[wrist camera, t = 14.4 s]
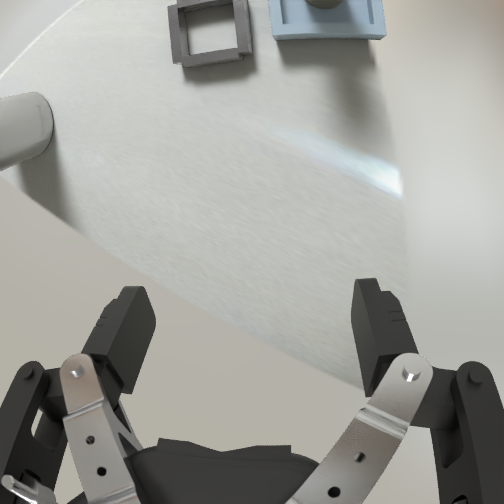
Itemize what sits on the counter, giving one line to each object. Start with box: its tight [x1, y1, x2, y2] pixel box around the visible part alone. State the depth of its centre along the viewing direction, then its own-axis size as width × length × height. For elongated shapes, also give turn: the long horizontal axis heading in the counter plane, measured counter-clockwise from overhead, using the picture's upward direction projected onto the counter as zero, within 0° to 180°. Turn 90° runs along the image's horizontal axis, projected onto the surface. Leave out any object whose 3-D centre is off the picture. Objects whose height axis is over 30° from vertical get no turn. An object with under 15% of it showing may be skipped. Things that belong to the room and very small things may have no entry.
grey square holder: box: [168, 0, 253, 67], centre depth 25 cm, size 7×7×2 cm
